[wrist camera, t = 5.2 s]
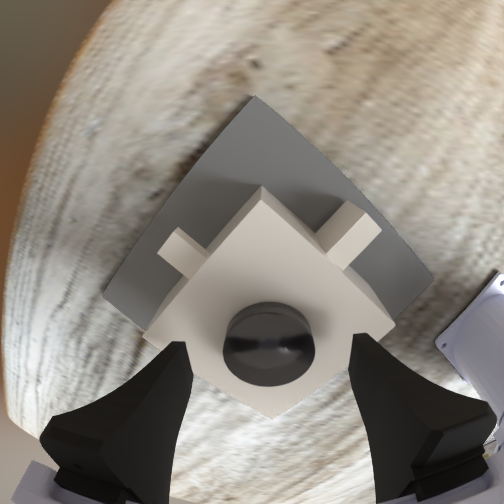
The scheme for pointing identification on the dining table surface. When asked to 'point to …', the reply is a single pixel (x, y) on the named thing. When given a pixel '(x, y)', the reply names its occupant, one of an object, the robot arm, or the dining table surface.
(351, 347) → the robot arm
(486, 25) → the dining table surface
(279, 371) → the plunger
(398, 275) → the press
